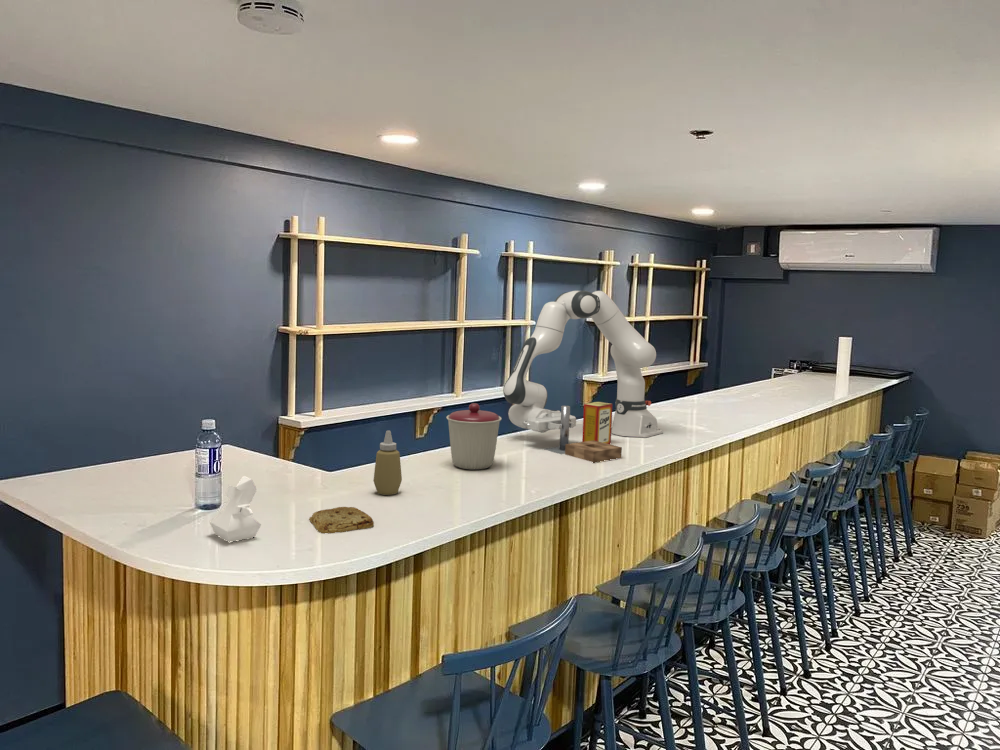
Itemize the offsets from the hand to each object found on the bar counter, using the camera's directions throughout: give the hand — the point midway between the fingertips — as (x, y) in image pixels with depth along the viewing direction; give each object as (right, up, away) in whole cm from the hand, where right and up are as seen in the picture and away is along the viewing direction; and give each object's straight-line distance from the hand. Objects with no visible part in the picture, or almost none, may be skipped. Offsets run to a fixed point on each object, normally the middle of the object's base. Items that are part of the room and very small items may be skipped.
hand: (566, 426), depth 288 cm
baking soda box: (+13, -8, +15) cm, 21 cm away
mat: (-1, -9, +2) cm, 9 cm away
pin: (-1, -9, +2) cm, 9 cm away
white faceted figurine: (-86, -19, -103) cm, 135 cm away
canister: (-33, -12, -27) cm, 44 cm away
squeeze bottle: (-56, -15, -62) cm, 85 cm away
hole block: (+9, -10, -7) cm, 15 cm away
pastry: (-64, -19, -90) cm, 112 cm away
